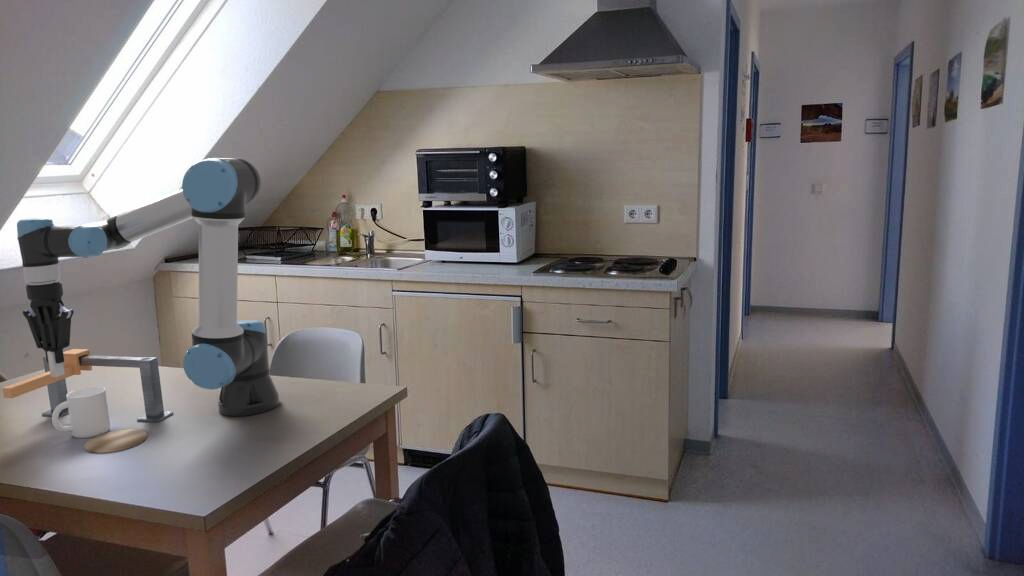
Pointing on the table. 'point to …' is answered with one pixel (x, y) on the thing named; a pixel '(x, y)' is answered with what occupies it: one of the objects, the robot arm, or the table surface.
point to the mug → (84, 412)
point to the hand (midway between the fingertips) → (57, 375)
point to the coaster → (115, 441)
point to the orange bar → (49, 375)
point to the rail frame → (145, 364)
